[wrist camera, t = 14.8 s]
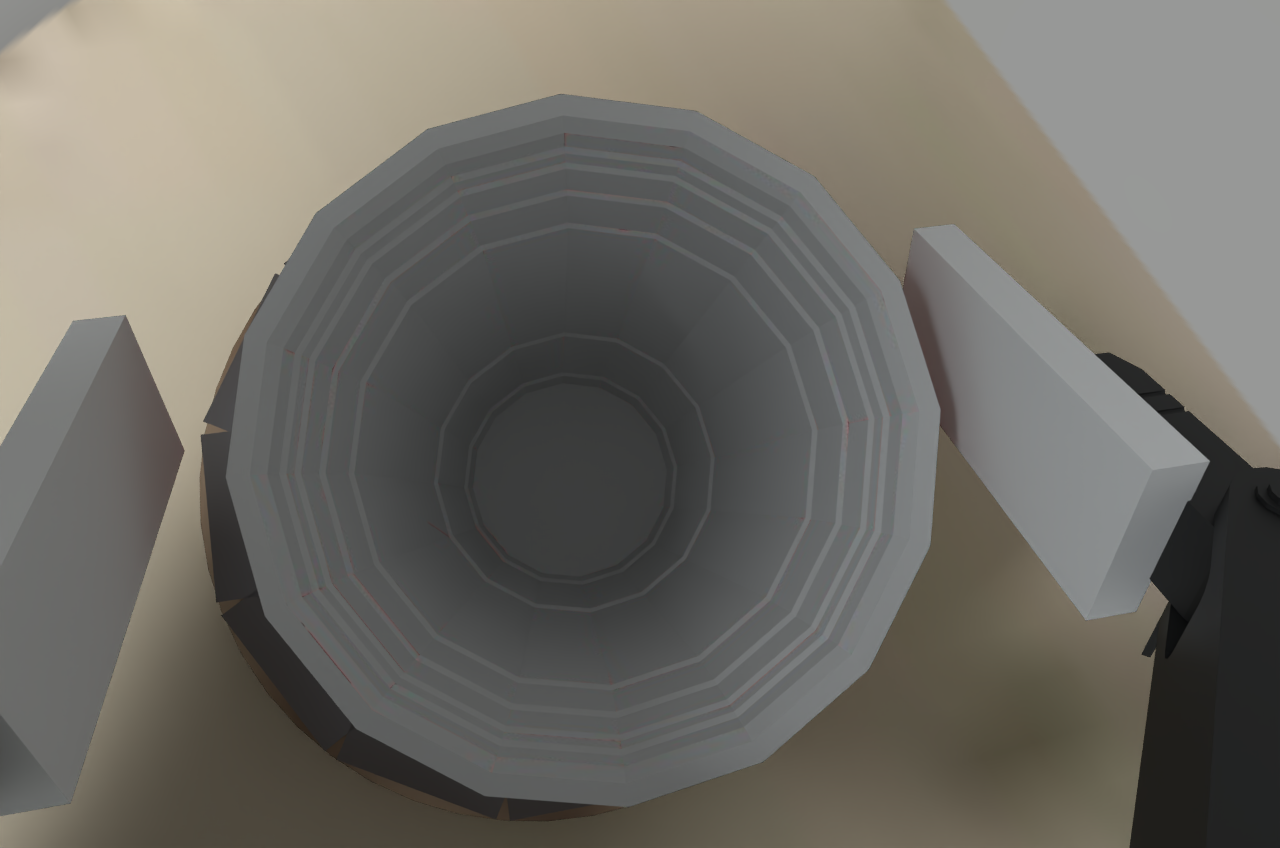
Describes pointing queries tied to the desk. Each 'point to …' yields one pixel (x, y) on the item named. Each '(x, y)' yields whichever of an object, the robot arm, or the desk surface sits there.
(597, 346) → the plastic cup
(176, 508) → the desk surface
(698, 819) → the desk surface
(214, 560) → the cup holder
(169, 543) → the desk surface
